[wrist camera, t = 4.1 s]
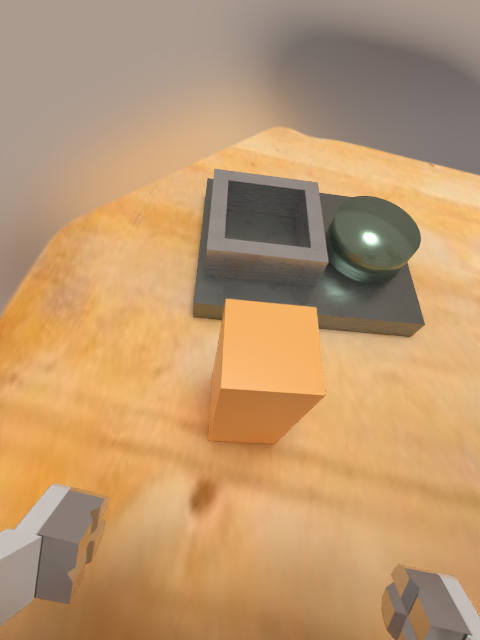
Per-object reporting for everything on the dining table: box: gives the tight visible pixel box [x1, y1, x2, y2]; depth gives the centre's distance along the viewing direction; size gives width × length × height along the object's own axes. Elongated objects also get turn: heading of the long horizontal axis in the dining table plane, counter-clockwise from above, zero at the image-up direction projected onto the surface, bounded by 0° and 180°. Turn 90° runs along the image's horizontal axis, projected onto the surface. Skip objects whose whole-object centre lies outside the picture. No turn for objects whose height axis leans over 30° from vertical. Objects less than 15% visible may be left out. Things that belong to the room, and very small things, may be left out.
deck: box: [193, 169, 425, 336], centre depth 30 cm, size 18×14×5 cm
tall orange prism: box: [208, 299, 326, 444], centre depth 20 cm, size 4×4×10 cm
